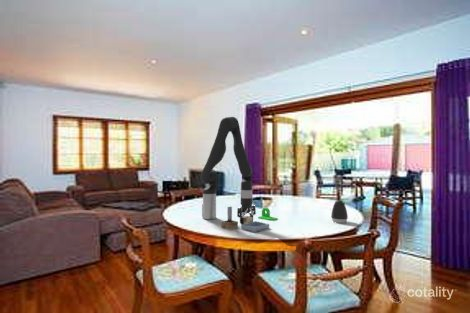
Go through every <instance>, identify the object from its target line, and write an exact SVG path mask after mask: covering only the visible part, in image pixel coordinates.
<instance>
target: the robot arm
mask: <svg viewBox="0 0 470 313" xmlns="http://www.w3.org/2000/svg"><path fill="white" fill-rule="evenodd" d="M229 133H231V134H232V138H233V147H232V148H233V153H234V155H235V159H236V161H237V165H238V169H239V172H240V174H241V182H240V206H238V207H237V209H236V210H237V218H239V223H240V225H241V224H244V218H243V217H244V216H246V215H247V214H248V215H249V216H250V217H252V222H254V216H255V215H257V212H256V205H254V203H253V202H254V200H253V197H254V196H253V168H252V166H251V165H250V163H249V160H248V155H247V152H246V148H245V147H244V144H243V139H242V132H241V129H240V123H239V120H238V118H236V117H235V116H227V117H223V118H222V119H221V120H220V122H219V126H218V129H217V134H216V136H215V140H214V142H213V144H212V147H211V149H210V152H209V155H208V158H207V160H206V163H205V165H204V167H203V169H202V171H201V172H200V178H199V179H200V183H201V184H204V185H208V186H206V187H205V188H203V190H202V203H201V218H202V219H205V220H214V219H217V189H218V173H217V171H215V170H213V169H214V168H216V166H217V165H218V164H220V162H222V160H223V158H224V157H225V154H226V152H227V145H226V140H227V138H228V135H229Z"/></svg>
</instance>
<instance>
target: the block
mask: <svg viewBox="0 0 470 313" xmlns="http://www.w3.org/2000/svg"><path fill="white" fill-rule="evenodd" d="M243 218H244V224H246V223H250V222H252V217H250V215H244V217H243ZM241 225H242V224H240V226H241Z"/></svg>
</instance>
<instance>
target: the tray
mask: <svg viewBox="0 0 470 313" xmlns="http://www.w3.org/2000/svg"><path fill="white" fill-rule="evenodd" d="M240 227H241V229H240V230H242V231H247V232H251V233H254V234H257V233H259V232H263V231H266V230H269V229H270V223H266V222H262V221H261V222H260V221H253V222H250V223H246V224H242V225H241V224H240Z"/></svg>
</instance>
